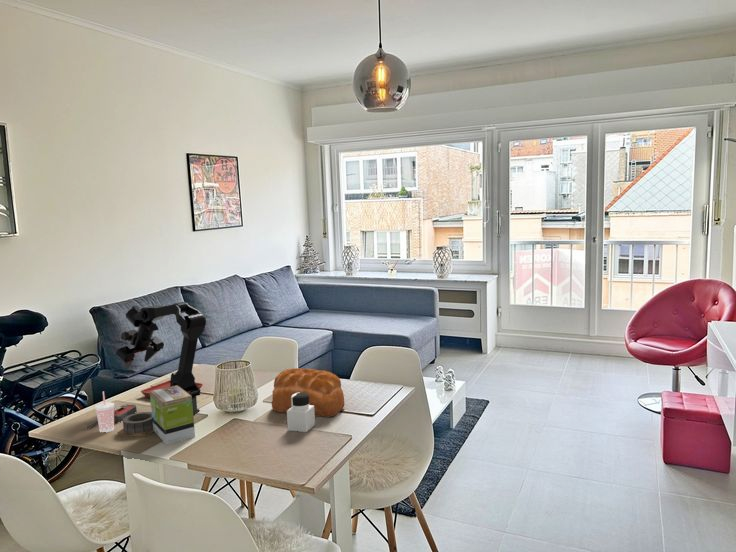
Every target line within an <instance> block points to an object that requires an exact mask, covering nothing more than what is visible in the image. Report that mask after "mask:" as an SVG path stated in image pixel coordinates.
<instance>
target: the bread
mask: <svg viewBox="0 0 736 552" xmlns="http://www.w3.org/2000/svg"><path fill="white" fill-rule="evenodd" d="M299 392H304V393H307V394H308V395H309V405H314V413H315V417H326V418H327V417H328V418H329V417H330V418H331V417H334V416H335V415H337V414H338V413H340V412H341V411H343V409H344V407H345V394H344V392H343V389H342V382H341V378H340V377H339V376H338V375H336V374H335V373H332V372H331V371H328V370H320V369H319V370H317V369H314V368H300V367H299V368H298V367H293V368H289V369H284V370H282V371H281V372H280V373H279V374H277V375H276V377H275V378H274V383H273V390H272V400H271V408H272V409H273V410H274V411H275V412H279V413H286V414H287V410H289V409H290V408H291V407H292V404H291V396H292V395H293V394H295V393H299Z"/></svg>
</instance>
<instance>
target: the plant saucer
mask: <svg viewBox="0 0 736 552" xmlns="http://www.w3.org/2000/svg"><path fill="white" fill-rule="evenodd" d="M170 380H171V379H170ZM170 380H166V381H164V382H160V383H159V384H155V385H153V386H151V387H148V388H145V389H141V390H140V391H139V392H140V393H141V394H142V395H143V396H145V397H146V398H149V397H150V391H154V390H158V389H163V388H167V387H170V383H169V382H170ZM195 383H196V385H197V386H198V388H199V389H200V390H201V388H202V387H203V385H204V383H200V382H195ZM189 392H190V391H188V392H187V393H189Z"/></svg>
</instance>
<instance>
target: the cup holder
mask: <svg viewBox="0 0 736 552" xmlns="http://www.w3.org/2000/svg"><path fill="white" fill-rule="evenodd" d="M122 425H123V428H122V429H120V430H119V431H117V433H116V435H117V436H123V435H124V436H125V435H126V436H127V437H129V436H131V437H145V436H146V437H147V436H149V435H151V432H152V433H153V432H155V431H154V430H153V420H152V411H141V412H136V413H134V414H131V415H129V416H126V417H125V418H123V421H122ZM148 434H149V435H148Z"/></svg>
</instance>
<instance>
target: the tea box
mask: <svg viewBox="0 0 736 552" xmlns="http://www.w3.org/2000/svg"><path fill="white" fill-rule="evenodd" d="M149 399H150V408H151V412H152V420H153V430H154V431H153V432H154V433H155V434H156V435H157V436H158V437H159V438H160V440H162V441H163V443H164V444H165V445H167V446H168V445H171V444H174V443H178V442H181V441H185V440H189V439H192V438H195V437H196V430H195V418H194V415H193V404H192V396H191V395H190V394H188V393H187V392H186V391H184V390H183V389H182V388H180V387H179V386H178V385H176V386H171V387H167V388H163V389H158V390H154V391H150V398H149Z"/></svg>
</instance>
